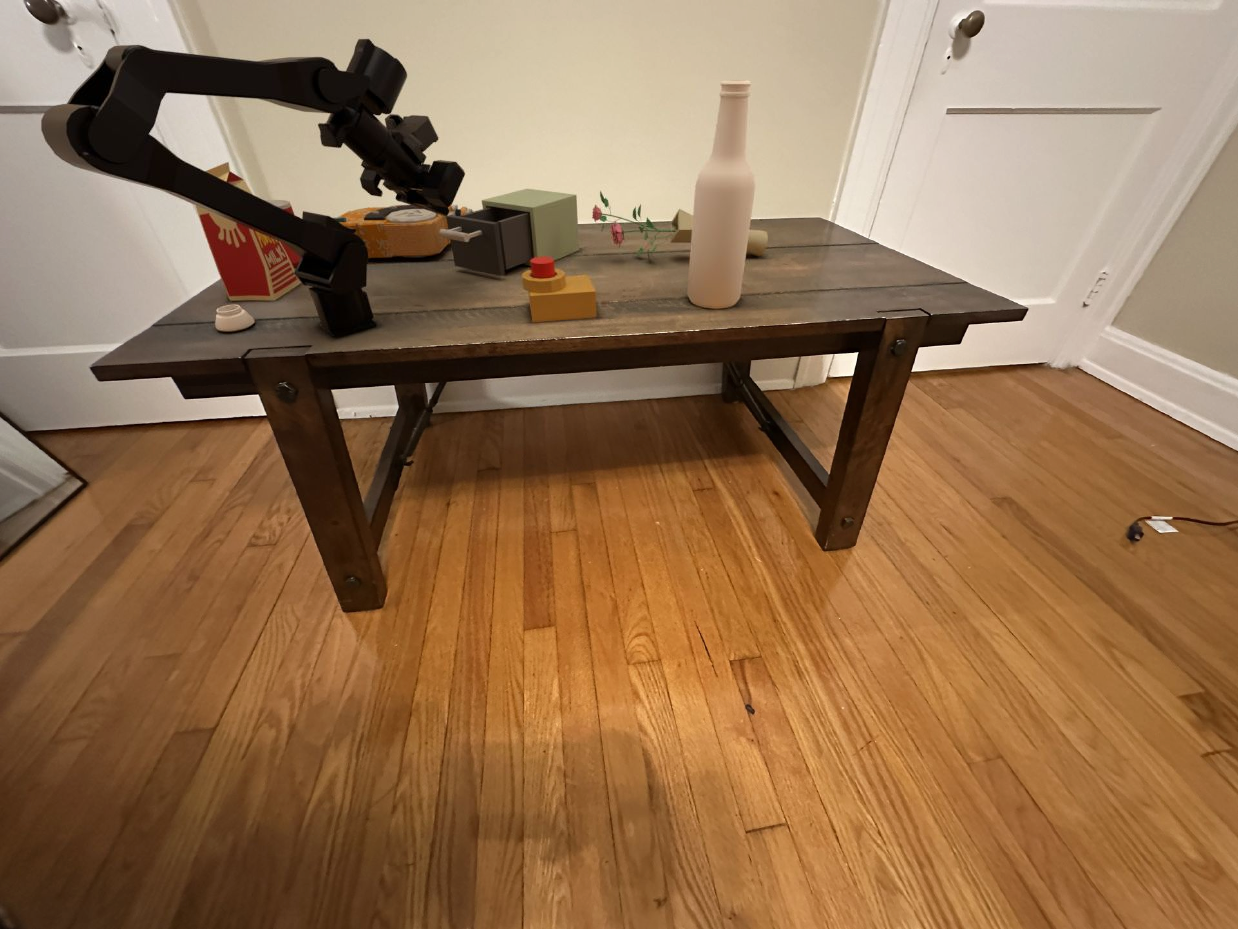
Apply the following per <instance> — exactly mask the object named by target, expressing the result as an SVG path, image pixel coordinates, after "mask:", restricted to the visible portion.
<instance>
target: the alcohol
mask: <svg viewBox="0 0 1238 929" xmlns="http://www.w3.org/2000/svg"><path fill="white" fill-rule="evenodd" d="M751 85H752V83H751V81H750V80H746V79H745V80H744V79H743V80H739V79H738V80H737V79H736V80H734V79H732V80H731V79H730V80H729V79H728V80H727V79H726V80H722V82H720V86H721V91H720V93H719V97H720V100H719V105H718V106H719V107H718V113H717V118H716V125H715V132H714V139H713V145H712V151H711V154H710V156H709V159H708V160H707V162H706V163H705V164H704V165H703V167H702V168H701V170H700V171H699V173H698V175H697V179H696V181H695V186H694V197H693V198H694V199H693V201H694V202H693V211H692V212H693V213H692V215H693V224H692V237H691V243H690V251H689V267H688V279H687V290H686V291H687V293H686V295H687V297H688V299H689V301H690V303H692V304H693V305H695V306H696V307H700V308H705V309H713V310H715V309H717V310H718V309H726V308H731V307H733V306H735V305H736V304H737V303H738V301H739V300H740V299H741V295H742V286H743V279H744V272H745V266H746V265H745V264H746V259H747V258H746V257H747V253H746V251H747V243H748V236H749V229H750V227H751V221H752V214H753V205H754V200H755V199H754V198H755V191H756V181H755V174H754V171H753V169H752V167H751V166H750V163H749V162H748V160H747V154H746V144H747V124H748V106H749V97H750V95H751V94H750V87H751ZM750 230H751V229H750Z"/></svg>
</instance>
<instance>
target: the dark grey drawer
mask: <svg viewBox="0 0 1238 929" xmlns="http://www.w3.org/2000/svg"><path fill="white" fill-rule="evenodd" d="M473 211H474V212H470V213H467V214H463V215H460V216H454V215H448V216H446V219H447V224H448V230H446V229H441V230H440V231H439V235H440V236H441V237H442V238H448V239H450V241H451V242H450V246H451V251H452V256H453V262H454V266H455V267H457V268H462V269H468V270H472V271H476V272H479V273H486V274H490V275H494V276H498V277H502V276H504V275H505V274H506V273H505V271H506V270H509V269H512V268H514V267H517V266H519V265H523V264H522V263H525V262H527V261H530V260H531V259H533V258H534V250H533V240H532V230H531V219H530V212H525V211H518V210H512V209H505V208H498V207H489V208H485V209H483V208H482V209H478V210H473Z"/></svg>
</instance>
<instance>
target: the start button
mask: <svg viewBox="0 0 1238 929" xmlns="http://www.w3.org/2000/svg"><path fill="white" fill-rule="evenodd" d="M530 263H531V266H530V270H531V273H532V277H533V278H538V279H545V278H551V277H554V276H555V261H554V259H553V258H551V257H536V258H533V259H531V260H530Z"/></svg>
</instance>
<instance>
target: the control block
mask: <svg viewBox="0 0 1238 929" xmlns="http://www.w3.org/2000/svg"><path fill="white" fill-rule="evenodd" d="M521 277H522V287H523V290H525V291H526V292H528V302H529V308H530V314H531V320H532V323H543V322H555V321H567V320H581V319H594V318H597V316H598V315H597V291H596V289H595V287H594V285H593V283H592V280H591V278H590V276H589V274H582V275H581V274H580V275H579V274H578V275H566V274H565V271H564V270H562V269H559V268H555V276H554V277H551V278H545V279H538V278H533V277H532V273H531V269H528V270H526V271H524V272H523V273H522V274H521Z"/></svg>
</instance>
